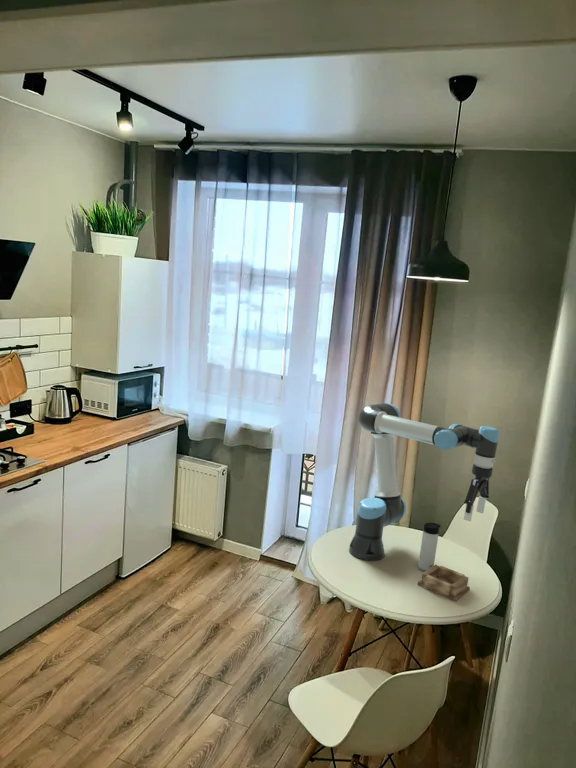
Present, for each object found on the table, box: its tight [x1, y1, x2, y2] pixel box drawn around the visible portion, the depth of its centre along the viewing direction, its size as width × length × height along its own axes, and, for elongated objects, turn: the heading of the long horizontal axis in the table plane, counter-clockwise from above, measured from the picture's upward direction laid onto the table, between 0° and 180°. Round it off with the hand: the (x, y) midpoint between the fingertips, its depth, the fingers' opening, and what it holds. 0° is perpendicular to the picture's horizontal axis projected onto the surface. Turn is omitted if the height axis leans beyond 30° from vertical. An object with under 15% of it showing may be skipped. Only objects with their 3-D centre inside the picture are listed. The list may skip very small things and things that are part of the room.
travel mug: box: [417, 522, 441, 573], centre depth 238 cm, size 6×7×20 cm
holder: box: [417, 564, 471, 602], centre depth 224 cm, size 16×14×5 cm
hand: (473, 516), depth 229 cm, fingers open, 13 cm apart
